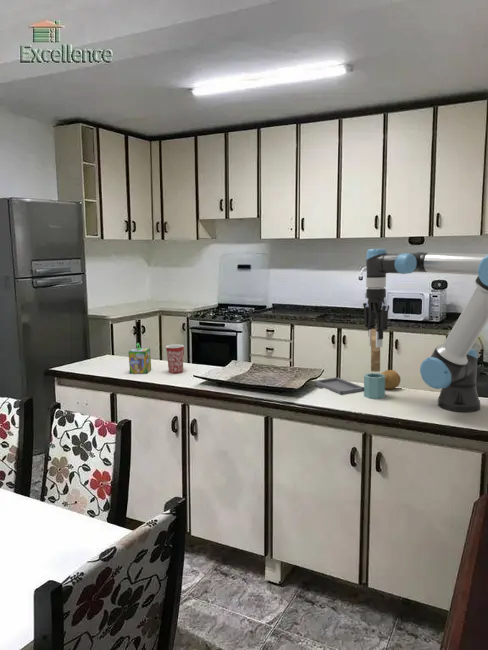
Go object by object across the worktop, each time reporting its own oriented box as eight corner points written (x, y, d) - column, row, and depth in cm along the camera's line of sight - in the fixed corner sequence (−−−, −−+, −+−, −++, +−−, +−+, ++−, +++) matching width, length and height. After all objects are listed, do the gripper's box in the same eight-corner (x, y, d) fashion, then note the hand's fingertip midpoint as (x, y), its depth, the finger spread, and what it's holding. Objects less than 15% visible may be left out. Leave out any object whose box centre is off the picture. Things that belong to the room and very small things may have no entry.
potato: (402, 385, 232) (402, 368, 231) (398, 394, 219) (398, 375, 218) (379, 383, 236) (380, 366, 235) (374, 392, 223) (374, 373, 222)
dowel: (381, 371, 212) (382, 329, 209) (374, 372, 210) (375, 330, 208) (376, 369, 215) (376, 328, 212) (369, 370, 213) (369, 329, 211)
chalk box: (146, 373, 266) (145, 345, 263) (129, 373, 267) (127, 345, 264) (152, 369, 275) (150, 341, 272) (135, 369, 276) (133, 341, 274)
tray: (364, 393, 222) (364, 387, 222) (340, 397, 217) (340, 391, 217) (336, 382, 240) (336, 377, 240) (314, 385, 235) (314, 380, 235)
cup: (389, 399, 213) (389, 376, 211) (372, 402, 209) (373, 379, 208) (376, 394, 220) (376, 372, 218) (360, 397, 217) (360, 374, 215)
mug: (179, 374, 262) (177, 348, 260) (163, 373, 266) (162, 347, 264) (191, 368, 273) (190, 343, 271) (176, 367, 277) (175, 342, 275)
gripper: (397, 288, 202) (397, 348, 205) (370, 286, 217) (370, 342, 220) (382, 289, 199) (381, 350, 202) (355, 287, 214) (355, 344, 217)
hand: (375, 346), depth 211 cm, fingers closed on dowel, 3 cm apart
